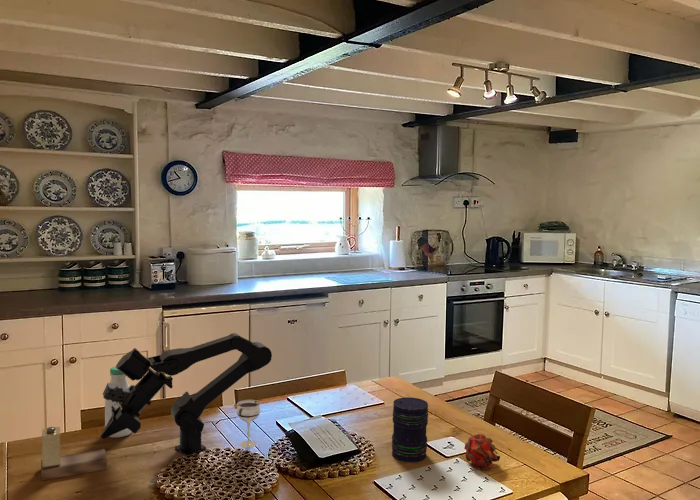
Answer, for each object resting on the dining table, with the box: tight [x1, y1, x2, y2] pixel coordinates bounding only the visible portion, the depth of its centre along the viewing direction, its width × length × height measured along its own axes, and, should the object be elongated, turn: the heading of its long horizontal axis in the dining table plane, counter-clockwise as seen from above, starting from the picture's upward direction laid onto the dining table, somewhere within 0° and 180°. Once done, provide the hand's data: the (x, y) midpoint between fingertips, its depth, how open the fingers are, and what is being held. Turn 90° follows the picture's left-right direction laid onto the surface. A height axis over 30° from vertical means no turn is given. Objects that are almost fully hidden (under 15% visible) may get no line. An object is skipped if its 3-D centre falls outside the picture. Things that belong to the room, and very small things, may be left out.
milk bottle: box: [104, 365, 133, 439], centre depth 171 cm, size 8×8×20 cm
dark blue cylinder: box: [391, 396, 429, 464], centre depth 161 cm, size 10×10×15 cm
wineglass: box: [236, 399, 261, 449], centre depth 166 cm, size 7×7×12 cm
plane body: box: [40, 448, 108, 481], centre depth 149 cm, size 15×7×2 cm, turn 117°
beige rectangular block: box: [41, 426, 61, 467], centre depth 146 cm, size 4×5×9 cm
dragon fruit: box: [464, 433, 501, 471], centre depth 157 cm, size 8×8×12 cm
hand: (101, 437), depth 151 cm, fingers closed
